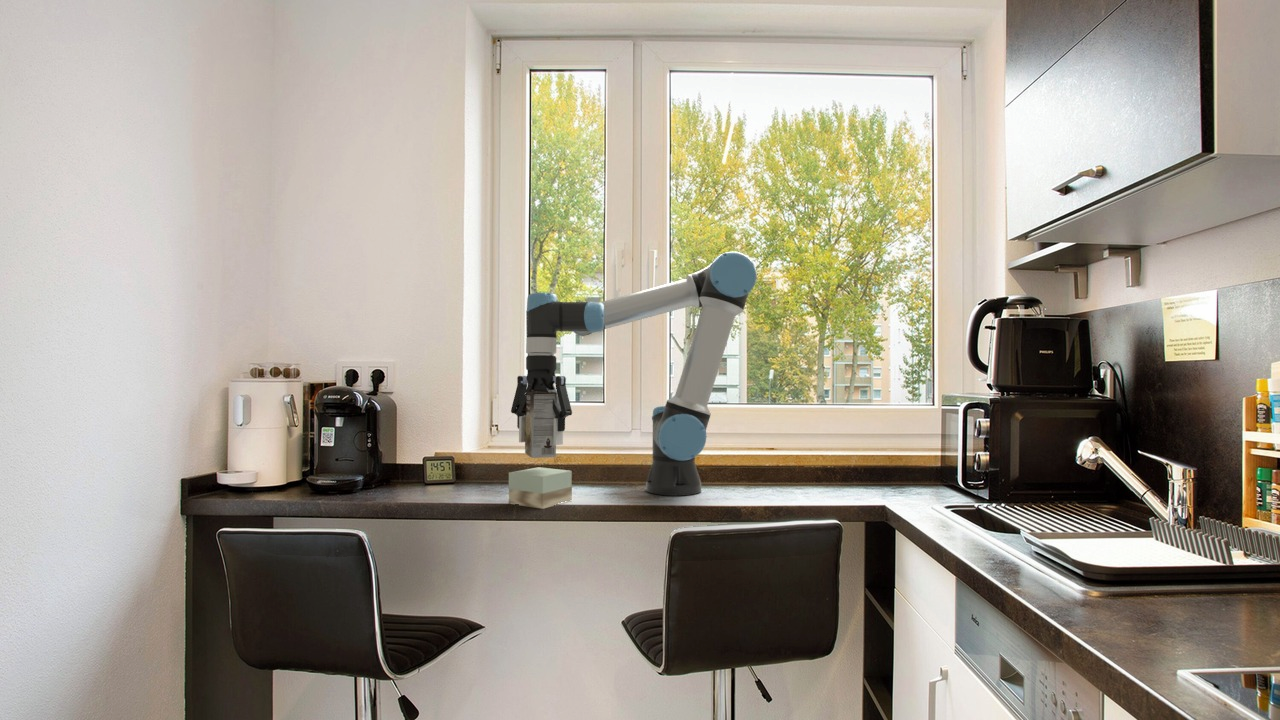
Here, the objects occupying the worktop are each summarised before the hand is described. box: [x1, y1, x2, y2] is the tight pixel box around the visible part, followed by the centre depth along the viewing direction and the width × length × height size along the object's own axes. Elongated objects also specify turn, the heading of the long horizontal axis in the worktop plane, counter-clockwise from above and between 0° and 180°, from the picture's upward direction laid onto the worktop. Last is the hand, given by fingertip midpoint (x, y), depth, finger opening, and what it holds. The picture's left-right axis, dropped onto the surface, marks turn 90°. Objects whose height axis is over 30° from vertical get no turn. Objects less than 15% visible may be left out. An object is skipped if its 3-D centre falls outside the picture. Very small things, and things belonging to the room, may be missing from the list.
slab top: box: [508, 466, 573, 494], centre depth 158 cm, size 11×11×4 cm
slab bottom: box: [508, 486, 573, 510], centre depth 158 cm, size 11×11×4 cm
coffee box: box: [524, 391, 558, 459], centre depth 158 cm, size 9×6×16 cm
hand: (540, 443), depth 158 cm, fingers closed on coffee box, 10 cm apart
